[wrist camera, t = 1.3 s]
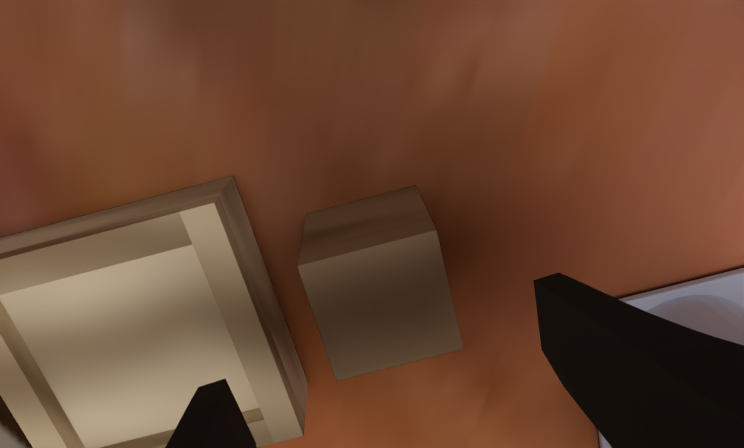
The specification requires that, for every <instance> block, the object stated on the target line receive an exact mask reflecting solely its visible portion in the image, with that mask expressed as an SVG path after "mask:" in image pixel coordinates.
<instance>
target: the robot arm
mask: <svg viewBox="0 0 744 448" xmlns="http://www.w3.org/2000/svg"><path fill="white" fill-rule="evenodd" d="M534 288H535V296H536V305H537V313H538V322H539V330H540V339H541V347H542V351H543V352H544V354H545V356H546V358H547V359H548V361H549V363H550V364H551V366H552V368H553V370H554V371H555V373H556V374H557V376H558V378H559V379H560V381H561V382H562V384H563V386H564V387H565V388H566V390H567V391H568V392H569V394H570V395H571V396H572V398H573V399H574V400H575V401H576V403H577V404H578V405H579V406H580V408H581V409H582V410H583V412H584V413H585V414H586V415H587V417H588V418H589V419H590V420H591V422H592V423H593V424H594V425H595V427H596V428H597V429H598V433H599V441H600V448H744V268H741V269H737V270H733V271H729V272H725V273H721V274H717V275H713V276H709V277H705V278H701V279H697V280H693V281H689V282H685V283H681V284H677V285H673V286H669V287H665V288H661V289H657V290H653V291H649V292H645V293H641V294H637V295H633V296H629V297H625V298H621V299H616V298H614V297H612V296H609V295H607V294H605V293H603V292H601V291H598V290H596V289H594V288H592V287H590V286H588V285H585V284H583V283H581V282H579V281H577V280H575V279H572V278H570V277H568V276H566V275H563V274H561V273H556V274H553V275H550V276H546V277H543V278H540V279H537V280H534ZM165 448H257V447H256V442H255V440H254V438H253V436H252V433H251V431H250V429H249V427H248V425H247V423H246V421H245V419H244V417H243V414H242V412H241V410H240V408H239V406H238V404H237V402H236V400H235V397H234V395H233V393H232V391H231V389H230V387H229V385H228V383H227V381H226V378H225V379H222V380H219V381H216V382H213V383H209V384H206V385H203V386H200V387H198V389H197V390H196V392H195V394H194V396H193V397H192V399H191V401H190V403H189V404H188V406H187V408H186V410H185V412H184V414H183V416H182V417H181V419H180V421H179V423H178V425H177V427H176V429H175V430H174V432H173V434H172V436H171V438H170V440H169V441H168V443H167V445H166V447H165Z"/></svg>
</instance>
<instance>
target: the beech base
mask: <svg viewBox="0 0 744 448" xmlns="http://www.w3.org/2000/svg"><path fill="white" fill-rule="evenodd" d="M225 378H226V381H227V383H228V385H229V387H230V389H231V391H232V393H233V395H234V397H235V400H236V402H237V404H238V406H239V408H240V410H241V412H242V414H243V417H244V419H245V421H246V423H247V425H248V427H249V429H250V431H251V433H252V436H253V438H254V440H255V442H256V447H261V446H265V445H269V444H273V443H277V442H281V441H285V440H289V439H293V438H297V437H302V436H304V425H305V413H306V402H307V391H308V382H307V379H306V376H305V374H304V371H303V368H302V365H301V363H300V360H299V357H298V354H297V352H296V349H295V346H294V343H293V341H292V338H291V335H290V332H289V330H288V327H287V324H286V321H285V318H284V316H283V313H282V310H281V307H280V305H279V302H278V299H277V296H276V294H275V291H274V288H273V285H272V283H271V280H270V277H269V274H268V272H267V269H266V266H265V263H264V261H263V258H262V255H261V252H260V250H259V247H258V244H257V241H256V239H255V236H254V233H253V230H252V228H251V225H250V222H249V219H248V217H247V214H246V211H245V208H244V206H243V203H242V200H241V197H240V195H239V192H238V189H237V186H236V184H235V181H234V178H233V176H231V177H227V178H223V179H220V180H216V181H212V182H208V183H205V184H201V185H197V186H193V187H190V188H186V189H182V190H178V191H175V192H171V193H167V194H163V195H160V196H156V197H152V198H148V199H145V200H141V201H137V202H133V203H130V204H126V205H122V206H118V207H115V208H111V209H107V210H103V211H100V212H96V213H92V214H88V215H85V216H81V217H77V218H73V219H70V220H66V221H62V222H58V223H55V224H51V225H47V226H43V227H40V228H36V229H32V230H28V231H25V232H21V233H17V234H13V235H10V236H6V237H2V238H0V395H1V397H2V398H3V400H4V401H5V403H6V405H7V406H8V408H9V410H10V411H11V413H12V414H13V416H14V418H15V419H16V421H17V422H18V424H19V426H20V427H21V429H22V431H23V432H24V434H25V435H26V437H27V439H28V440H29V442H30V443H31V445H32V447H33V448H165V447H166V445H167V443H168V441H169V440H170V438H171V436H172V434H173V432H174V430H175V429H176V427H177V425H178V423H179V421H180V419H181V417H182V416H183V414H184V412H185V410H186V408H187V406H188V404H189V403H190V401H191V399H192V397H193V396H194V394H195V392H196V390H197V389H198V387H200V386H203V385H206V384H209V383H213V382H216V381H219V380H222V379H225Z"/></svg>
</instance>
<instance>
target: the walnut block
mask: <svg viewBox="0 0 744 448" xmlns="http://www.w3.org/2000/svg"><path fill="white" fill-rule="evenodd" d="M297 268H298V270H299V273H300V276H301V279H302V282H303V285H304V288H305V291H306V294H307V297H308V300H309V303H310V306H311V309H312V312H313V314H314V317H315V320H316V323H317V326H318V329H319V332H320V335H321V338H322V341H323V344H324V347H325V350H326V353H327V356H328V359H329V361H330V364H331V367H332V370H333V373H334V376H335V379H336V381H339V380H343V379H347V378H351V377H355V376H358V375H362V374H366V373H370V372H374V371H378V370H382V369H386V368H390V367H394V366H398V365H402V364H406V363H410V362H414V361H418V360H422V359H426V358H430V357H434V356H438V355H442V354H446V353H450V352H454V351H458V350H462V349H464V347H463V343H462V339H461V334H460V330H459V326H458V321H457V317H456V313H455V308H454V304H453V300H452V295H451V291H450V287H449V282H448V278H447V274H446V269H445V265H444V261H443V256H442V252H441V248H440V243H439V239H438V235H437V230H436V228H435V226H434V224H433V222H432V219H431V217H430V215H429V213H428V211H427V209H426V207H425V204H424V202H423V200H422V198H421V196H420V194H419V192H418V189H417V187H416V185H414V186H410V187H406V188H403V189H399V190H395V191H391V192H387V193H384V194H380V195H376V196H372V197H368V198H365V199H361V200H357V201H353V202H349V203H346V204H342V205H338V206H334V207H330V208H327V209H323V210H319V211H315V212H311V213H308V214H306V217H305V223H304V229H303V235H302V241H301V246H300V252H299V258H298V264H297Z"/></svg>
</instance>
